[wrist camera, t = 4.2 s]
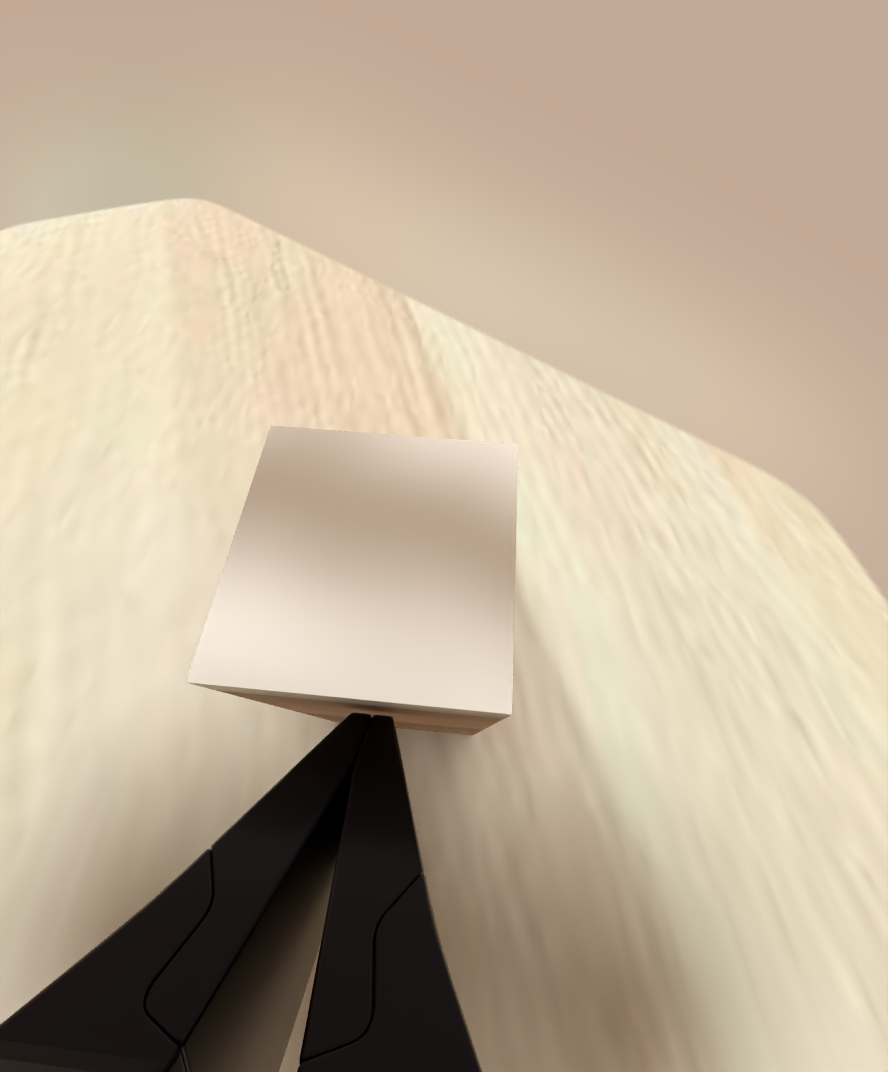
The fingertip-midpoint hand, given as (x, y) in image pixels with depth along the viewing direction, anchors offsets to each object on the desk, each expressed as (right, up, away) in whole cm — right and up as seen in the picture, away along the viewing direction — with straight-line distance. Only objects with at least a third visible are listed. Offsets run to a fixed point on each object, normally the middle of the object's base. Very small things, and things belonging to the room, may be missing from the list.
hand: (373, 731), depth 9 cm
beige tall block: (0, -1, +8) cm, 8 cm away
